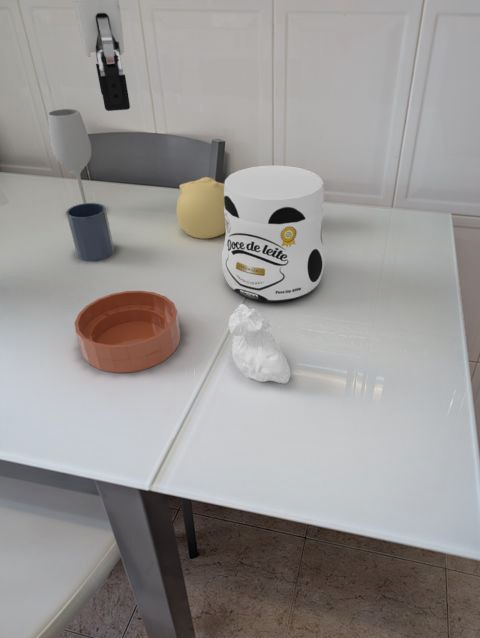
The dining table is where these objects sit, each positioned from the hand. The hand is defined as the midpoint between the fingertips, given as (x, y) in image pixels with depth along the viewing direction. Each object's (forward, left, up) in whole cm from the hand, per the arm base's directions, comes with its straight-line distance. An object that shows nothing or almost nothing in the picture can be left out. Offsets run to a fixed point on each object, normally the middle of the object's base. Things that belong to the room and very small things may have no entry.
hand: (115, 101), depth 69 cm
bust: (+18, -25, -29) cm, 42 cm away
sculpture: (+10, +20, -29) cm, 37 cm away
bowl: (0, -18, -29) cm, 34 cm away
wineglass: (-17, +31, -29) cm, 46 cm away
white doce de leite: (+22, -2, -29) cm, 37 cm away
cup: (-11, +11, -29) cm, 33 cm away
